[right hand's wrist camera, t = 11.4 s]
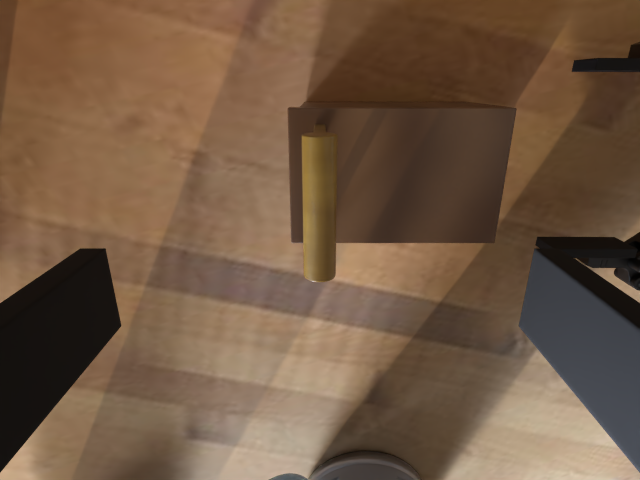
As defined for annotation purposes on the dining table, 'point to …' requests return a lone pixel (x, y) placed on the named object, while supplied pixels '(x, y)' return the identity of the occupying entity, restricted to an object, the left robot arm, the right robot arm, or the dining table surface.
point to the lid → (394, 177)
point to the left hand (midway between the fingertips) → (562, 163)
